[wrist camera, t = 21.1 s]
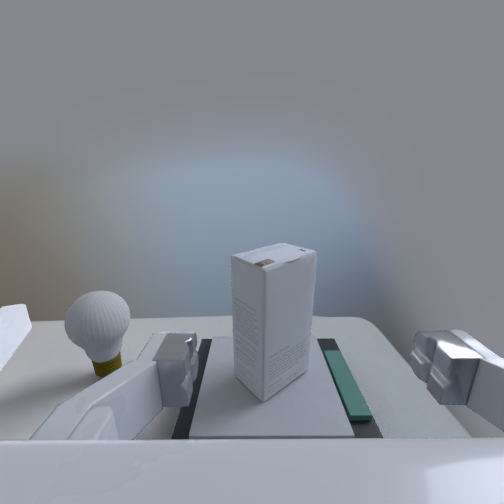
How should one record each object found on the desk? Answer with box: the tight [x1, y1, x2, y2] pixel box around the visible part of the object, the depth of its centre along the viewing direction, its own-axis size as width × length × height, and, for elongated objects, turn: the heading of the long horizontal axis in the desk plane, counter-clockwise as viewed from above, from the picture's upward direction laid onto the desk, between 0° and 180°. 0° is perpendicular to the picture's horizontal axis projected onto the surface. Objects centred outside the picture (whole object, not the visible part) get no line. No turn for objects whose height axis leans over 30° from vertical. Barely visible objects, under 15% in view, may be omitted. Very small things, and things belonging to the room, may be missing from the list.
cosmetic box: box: [231, 243, 317, 402], centre depth 23 cm, size 6×4×12 cm
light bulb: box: [65, 291, 130, 377], centre depth 28 cm, size 6×6×10 cm
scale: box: [171, 336, 383, 440], centre depth 25 cm, size 16×14×4 cm
